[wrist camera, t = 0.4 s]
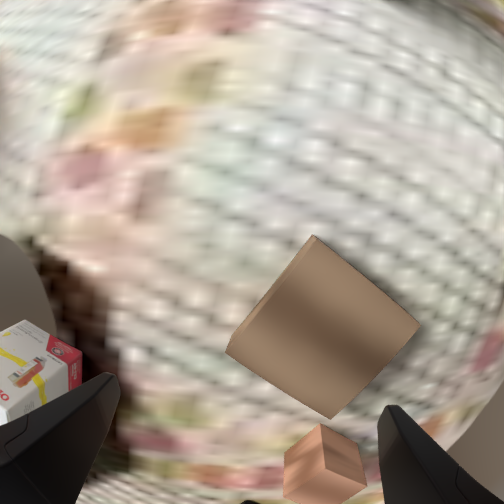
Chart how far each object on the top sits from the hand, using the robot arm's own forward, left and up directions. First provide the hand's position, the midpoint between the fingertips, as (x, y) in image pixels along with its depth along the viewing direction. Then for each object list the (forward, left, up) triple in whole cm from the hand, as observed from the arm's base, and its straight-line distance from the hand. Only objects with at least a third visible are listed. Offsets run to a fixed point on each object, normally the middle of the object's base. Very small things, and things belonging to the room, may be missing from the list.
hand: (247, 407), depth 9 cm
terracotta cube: (-10, -14, -15) cm, 23 cm away
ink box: (-20, +13, -15) cm, 28 cm away
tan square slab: (0, -5, -15) cm, 16 cm away
